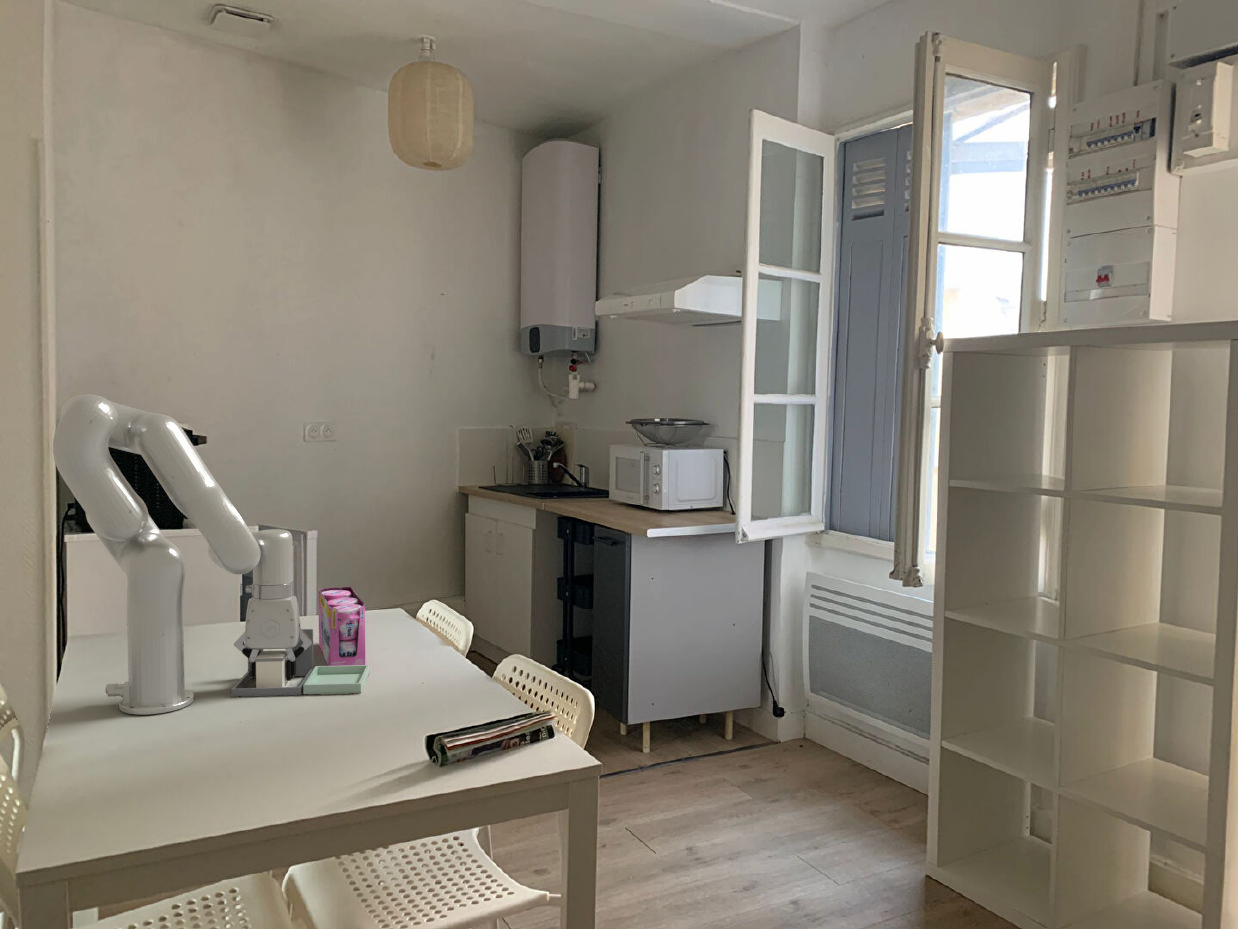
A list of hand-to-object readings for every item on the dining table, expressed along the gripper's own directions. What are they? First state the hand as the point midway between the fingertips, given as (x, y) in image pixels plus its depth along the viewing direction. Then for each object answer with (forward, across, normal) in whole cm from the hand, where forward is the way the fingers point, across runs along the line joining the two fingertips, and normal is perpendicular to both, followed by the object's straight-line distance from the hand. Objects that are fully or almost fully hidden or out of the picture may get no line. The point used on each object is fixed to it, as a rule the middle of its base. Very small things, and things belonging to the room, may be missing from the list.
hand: (274, 678), depth 187 cm
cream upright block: (+2, 0, 0) cm, 2 cm away
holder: (+2, 0, 0) cm, 2 cm away
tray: (+2, +12, 0) cm, 13 cm away
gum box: (+2, +10, +22) cm, 24 cm away
